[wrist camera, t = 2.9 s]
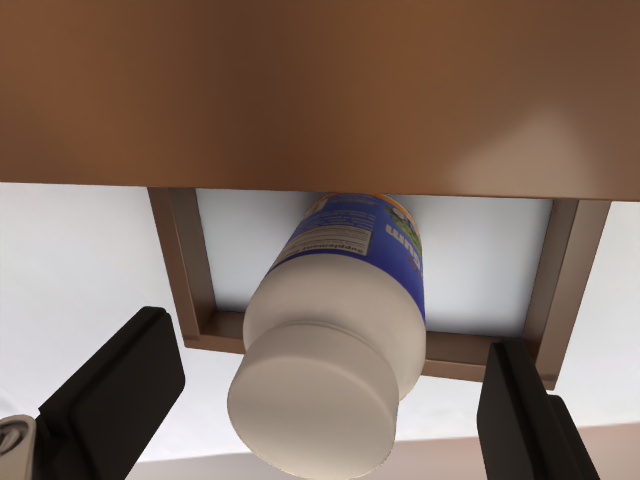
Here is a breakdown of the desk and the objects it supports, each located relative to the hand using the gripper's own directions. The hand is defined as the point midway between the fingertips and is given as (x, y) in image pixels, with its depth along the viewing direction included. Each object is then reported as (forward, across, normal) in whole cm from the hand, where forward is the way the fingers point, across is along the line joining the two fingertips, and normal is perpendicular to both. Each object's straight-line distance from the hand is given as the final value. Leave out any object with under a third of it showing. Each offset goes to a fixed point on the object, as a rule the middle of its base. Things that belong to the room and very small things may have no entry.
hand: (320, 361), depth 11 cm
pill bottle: (+7, 0, 0) cm, 7 cm away
